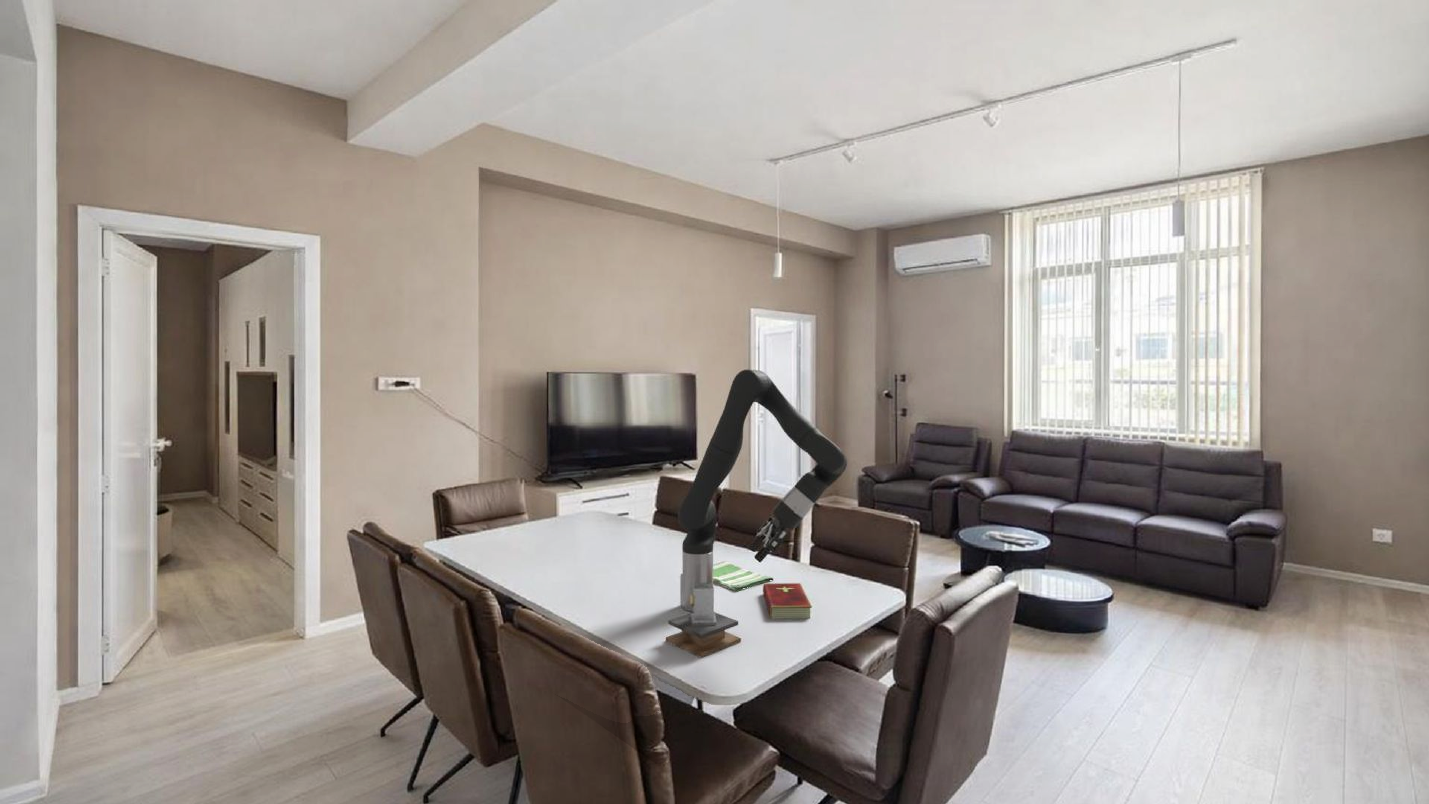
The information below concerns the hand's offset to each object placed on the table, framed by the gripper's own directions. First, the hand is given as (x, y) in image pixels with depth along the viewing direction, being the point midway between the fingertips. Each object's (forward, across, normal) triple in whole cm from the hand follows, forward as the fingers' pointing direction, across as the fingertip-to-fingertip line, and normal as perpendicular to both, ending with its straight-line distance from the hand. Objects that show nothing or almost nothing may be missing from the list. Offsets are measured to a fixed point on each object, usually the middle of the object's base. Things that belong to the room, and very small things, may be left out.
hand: (753, 554), depth 175 cm
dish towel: (+18, -50, +18) cm, 56 cm away
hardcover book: (+9, -22, +26) cm, 35 cm away
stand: (+26, +2, +4) cm, 26 cm away
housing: (+22, +2, 0) cm, 22 cm away
